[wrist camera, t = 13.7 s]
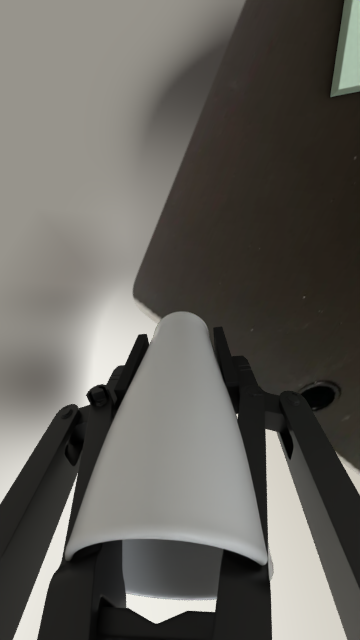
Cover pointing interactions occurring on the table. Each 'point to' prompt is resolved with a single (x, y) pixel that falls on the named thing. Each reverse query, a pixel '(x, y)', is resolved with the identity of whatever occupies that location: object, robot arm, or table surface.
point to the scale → (348, 51)
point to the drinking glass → (173, 473)
